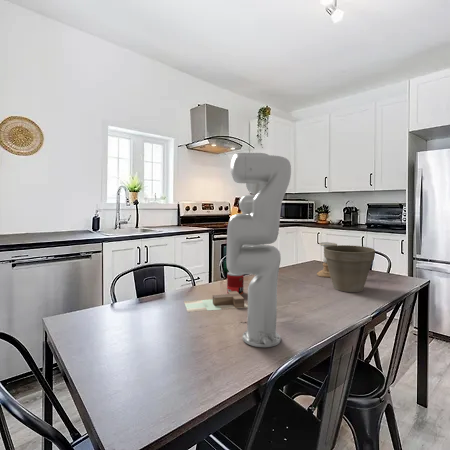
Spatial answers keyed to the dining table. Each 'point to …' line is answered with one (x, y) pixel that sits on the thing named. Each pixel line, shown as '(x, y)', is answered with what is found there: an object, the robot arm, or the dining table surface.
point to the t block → (229, 299)
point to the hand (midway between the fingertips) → (250, 262)
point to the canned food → (235, 282)
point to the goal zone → (204, 305)
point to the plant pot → (349, 266)
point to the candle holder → (325, 262)
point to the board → (206, 309)
